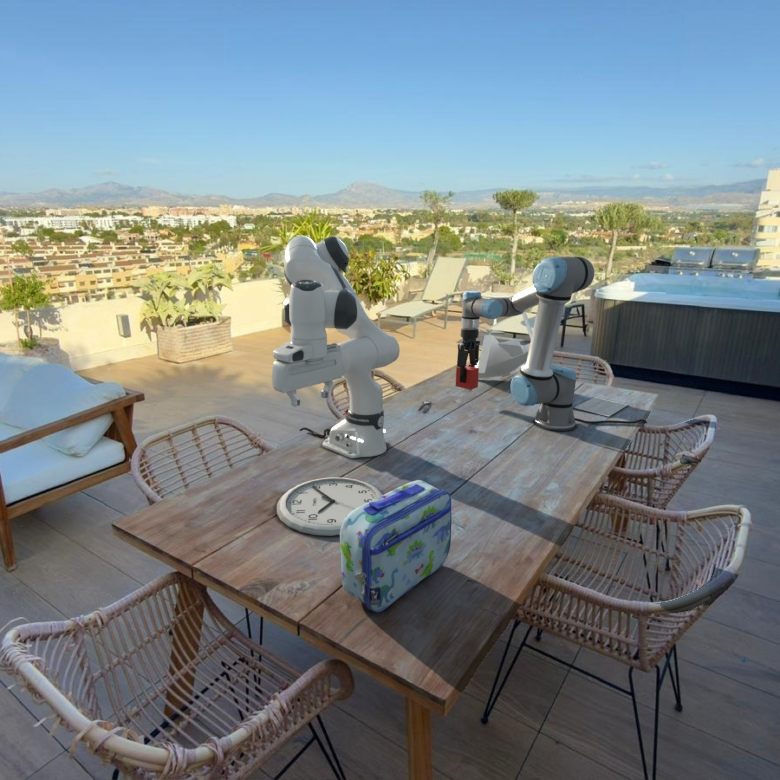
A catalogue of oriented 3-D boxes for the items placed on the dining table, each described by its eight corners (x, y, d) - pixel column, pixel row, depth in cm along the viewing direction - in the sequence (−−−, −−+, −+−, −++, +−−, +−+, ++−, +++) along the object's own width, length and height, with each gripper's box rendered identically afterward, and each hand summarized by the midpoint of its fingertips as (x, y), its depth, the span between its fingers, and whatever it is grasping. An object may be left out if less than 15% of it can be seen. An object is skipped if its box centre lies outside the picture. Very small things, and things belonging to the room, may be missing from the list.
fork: (415, 411, 216) (415, 406, 216) (426, 400, 231) (426, 395, 230) (421, 412, 216) (421, 407, 215) (432, 400, 230) (432, 396, 229)
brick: (462, 383, 234) (463, 364, 231) (477, 387, 228) (478, 368, 226) (455, 386, 230) (456, 366, 227) (470, 390, 225) (471, 370, 222)
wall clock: (392, 527, 129) (268, 531, 127) (391, 533, 130) (269, 537, 127) (383, 473, 158) (282, 475, 155) (383, 478, 158) (282, 480, 156)
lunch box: (369, 626, 100) (370, 530, 93) (334, 598, 107) (332, 507, 101) (455, 567, 117) (460, 483, 111) (419, 547, 124) (423, 467, 118)
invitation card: (608, 416, 214) (573, 407, 224) (608, 416, 214) (573, 408, 224) (628, 404, 229) (594, 396, 238) (628, 405, 229) (594, 397, 238)
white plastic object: (490, 421, 263) (470, 398, 238) (471, 347, 285) (451, 320, 260) (562, 397, 251) (549, 370, 226) (536, 322, 273) (522, 290, 248)
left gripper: (332, 340, 137) (333, 390, 142) (266, 352, 123) (270, 407, 127) (349, 344, 133) (349, 395, 137) (283, 357, 119) (285, 414, 123)
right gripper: (474, 324, 231) (471, 375, 237) (449, 329, 218) (447, 383, 224) (489, 326, 226) (485, 378, 232) (464, 332, 213) (461, 386, 220)
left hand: (310, 401), depth 132 cm, fingers open, 8 cm apart
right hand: (466, 380), depth 228 cm, fingers closed on brick, 5 cm apart
